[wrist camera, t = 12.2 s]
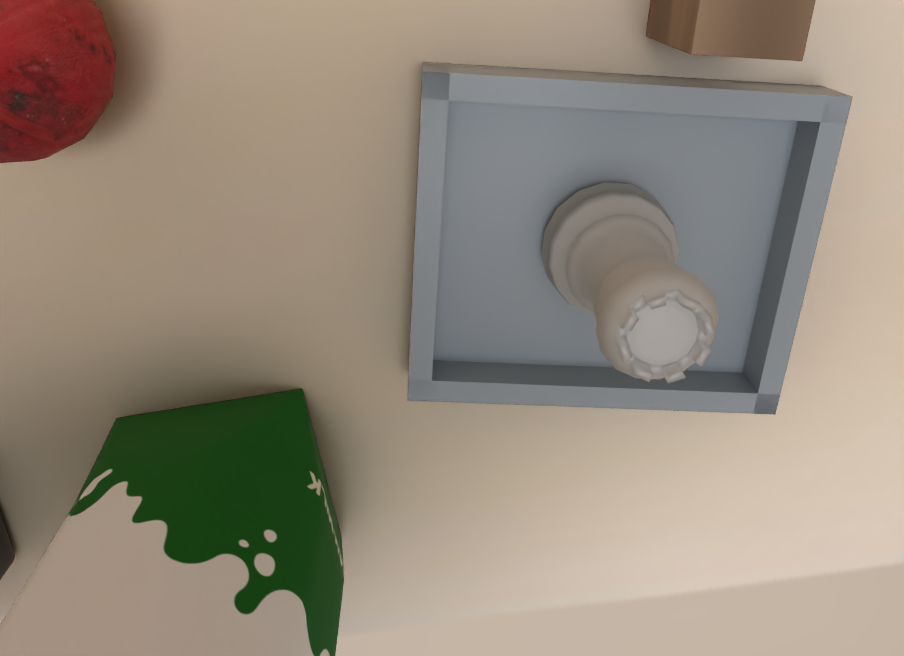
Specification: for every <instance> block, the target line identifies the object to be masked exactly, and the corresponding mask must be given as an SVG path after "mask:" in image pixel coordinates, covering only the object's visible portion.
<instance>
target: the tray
mask: <svg viewBox="0 0 904 656" xmlns="http://www.w3.org/2000/svg"><path fill="white" fill-rule="evenodd" d="M851 102H852V96H849V95H846V94H843V93H840V92H837V91H835V90H832V89H829V88H826V87H823V86H814V85H797V84H780V83H763V82H747V81H730V80H713V79H697V78H680V77H663V76H647V75H630V74H613V73H596V72H580V71H563V70H546V69H530V68H513V67H496V66H480V65H463V64H446V63H429V62H423V66H422V87H421V109H420V131H419V152H418V174H417V196H416V217H415V239H414V261H413V282H412V304H411V326H410V348H409V369H408V400H410V401H436V402H463V403H489V404H515V405H541V406H568V407H594V408H620V409H646V410H673V411H699V412H725V413H751V414H775V413H776V409H777V405H778V401H779V397H780V393H781V389H782V385H783V381H784V376H785V372H786V368H787V364H788V360H789V356H790V352H791V348H792V344H793V340H794V335H795V331H796V327H797V323H798V319H799V315H800V311H801V307H802V303H803V299H804V294H805V290H806V286H807V282H808V278H809V274H810V270H811V266H812V262H813V257H814V253H815V249H816V245H817V241H818V237H819V233H820V229H821V225H822V221H823V216H824V212H825V208H826V204H827V200H828V196H829V192H830V188H831V184H832V180H833V175H834V171H835V167H836V163H837V159H838V155H839V151H840V147H841V143H842V138H843V134H844V130H845V126H846V122H847V118H848V114H849V110H850V106H851ZM604 182H608V183H623V184H632V185H634V186H636V187H638V188H639V189H641V190H643V191H645V192H647V193H649V194H651V195H653V196H654V197H655V198H656V200H657V201H658V202H659V204H660V205H661V206H662V207H663V209H664V210H665V211H666V213H667V214H668V215H669V218H670V220H671V221H672V222H673V224H674V227H675V231H676V236H677V240H678V245H679V255H678V261H677V265H678V266H679V267H680V268H681V269H682V270H684V271H686V272H688V273H690V274H692V275H694V276H696V277H698V278H700V279H701V280H702V281H703V283H704V284H705V285H706V286H707V288H708V289H709V290H710V291H711V293H712V294H713V295H714V297H715V302H716V307H717V311H718V316H719V319H718V323H717V328H716V334H715V337H714V340H713V341H712V343H711V344H710V346H709V348H710V349H711V350H712V353H711V354H710V355H709V357H708V358H707V360H706V361H705V363H704V364H703V366H702V367H701V366H700V365H699V364H697V363H696V362H695V363H694V364H693V365H691V366H690V367H689V368H687V369H686V370H684V371H683V373H684V375H685V377H686V378H685V379H681V380H678V381H675V382H671V383H667V382H666V380H665V378H662V379H659V380H658V379H650V382H647V381H645V380H643V379H639V378H634V377H632V376H629V375H627V374H625V373H623V372H621V371H619V370H616V369H615V368H614V367H613V366H612V364H611V363H610V362H609V361H608V360H607V359H606V358H605V356H604V355H603V354H602V353H601V349H600V346H599V342H598V339H597V335H596V328H597V320H596V317H594V316H592V315H590V314H588V313H586V312H584V311H581V310H579V309H577V308H575V307H573V306H571V305H569V304H568V303H567V301H566V300H565V299H564V298H563V297H562V296H561V294H560V293H559V292H558V291H557V290H556V289H555V288H554V286H553V283H552V282H551V281H550V280H549V279H548V276H547V273H546V269H545V266H544V263H543V259H542V256H541V255H542V247H543V239H544V231H545V229H546V227H547V225H548V224H549V222H550V220H551V218H552V217H553V215H554V213H555V211H556V210H557V208H558V207H559V206H560V205H562V204H563V203H564V202H565V201H566V200H568V199H569V198H570V197H571V196H573V195H574V194H575V193H576V192H578V191H579V190H582V189H585V188H588V187H591V186H594V185H598V184H601V183H604Z"/></svg>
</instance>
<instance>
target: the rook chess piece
mask: <svg viewBox="0 0 904 656" xmlns="http://www.w3.org/2000/svg"><path fill="white" fill-rule="evenodd" d="M678 255H679V245H678V240H677V236H676V231H675V227H674V224H673V222H672V221H671V220H670V218H669V215H668V214H667V213H666V211H665V210H664V209H663V207H662V206H661V205H660V204H659V202H658V201H657V200H656V198H655V197H654V196H653V195H651V194H649V193H647V192H645V191H643V190H641V189H639V188H638V187H636V186H634V185H632V184H623V183H608V182H604V183H601V184H598V185H594V186H591V187H588V188H585V189H582V190H579V191H578V192H576V193H575V194H574V195H573V196H571V197H570V198H569V199H568V200H566V201H565V202H564V203H563V204H562V205H560V206H559V207H558V208H557V210H556V211H555V213H554V215H553V217H552V218H551V220H550V222H549V224H548V225H547V227H546V229H545V231H544V239H543V247H542V255H541V256H542V259H543V263H544V266H545V269H546V273H547V276H548V279H549V280H550V281H551V282H552V283H553V286H554V288H555V289H556V290H557V291H558V292H559V293H560V294H561V296H562V297H563V298H564V299H565V300H566V301H567V303H568V304H569V305H571V306H573V307H575V308H577V309H579V310H581V311H584V312H586V313H588V314H590V315H592V316H594V317H596V320H597V328H596V335H597V339H598V342H599V346H600V349H601V353H602V354H603V355H604V356H605V358H606V359H607V360H608V361H609V362H610V363H611V364H612V366H613V367H614V368H615V369H616V370H619V371H621V372H623V373H625V374H627V375H629V376H632V377H634V378H639V379H643V380H645V381H647V382H650V379H658V380H659V379H662V378H665V380H666V382H667V383H671V382H675V381H678V380H681V379H685V378H686V377H685V375H684V373H683V371H684V370H686V369H687V368H689V367H690V366H691V365H693V364H694V363H695V362H696V363H697V364H699V365H700V366H701V367H702V366H703V364H704V363H705V361H706V360H707V358H708V357H709V355H710V354H711V353H712V350H711V349H710V348H709V346H710V344H711V343H712V341H713V340H714V337H715V334H716V328H717V323H718V319H719V316H718V311H717V307H716V302H715V297H714V295H713V294H712V293H711V291H710V290H709V289H708V288H707V286H706V285H705V284H704V283H703V281H702V280H701V279H700V278H698V277H696V276H694V275H692V274H690V273H688V272H686V271H684V270H682V269H681V268H680V267H679V266H678V265H677V261H678Z"/></svg>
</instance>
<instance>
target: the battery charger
mask: <svg viewBox="0 0 904 656" xmlns="http://www.w3.org/2000/svg"><path fill="white" fill-rule="evenodd" d="M14 557H15V555H14V551H13V548H12V545H11V542H10V539H9V536H8V533H7V531H6V528H5V525H4V522H3V519H2V516H1V514H0V580H1V578H2V577H3V575H4V574H5V572H6V571H7V570H8V568H9V567H10V565H11V564H12V563H13V560H14Z"/></svg>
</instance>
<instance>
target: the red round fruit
mask: <svg viewBox="0 0 904 656" xmlns="http://www.w3.org/2000/svg"><path fill="white" fill-rule="evenodd" d="M115 62H116V53H115V50H114V47H113V44H112V41H111V39H110V36H109V33H108V30H107V27H106V24H105V22H104V19H103V16H102V13H101V12H100V10H99V9H98V8H97V6H96V5H95V4H94V2H93V1H92V0H0V163H7V162H22V161H35V160H39V159H43V158H47V157H49V156H51V155H53V154H55V153H57V152H59V151H61V150H62V149H64V148H66V147H68V146H70V145H72V144H74V143H76V142H78V141H80V140H82V139H84V137H85V136H86V135H87V134H88V133H89V131H90V130H91V129H92V127H93V126H94V124H95V123H96V121H97V120H98V118H99V117H100V115H101V113H102V112H103V110H104V109H105V107H106V106H107V104H108V103H109V101H110V100H111V98H112V96H113V85H114V74H115Z"/></svg>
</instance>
